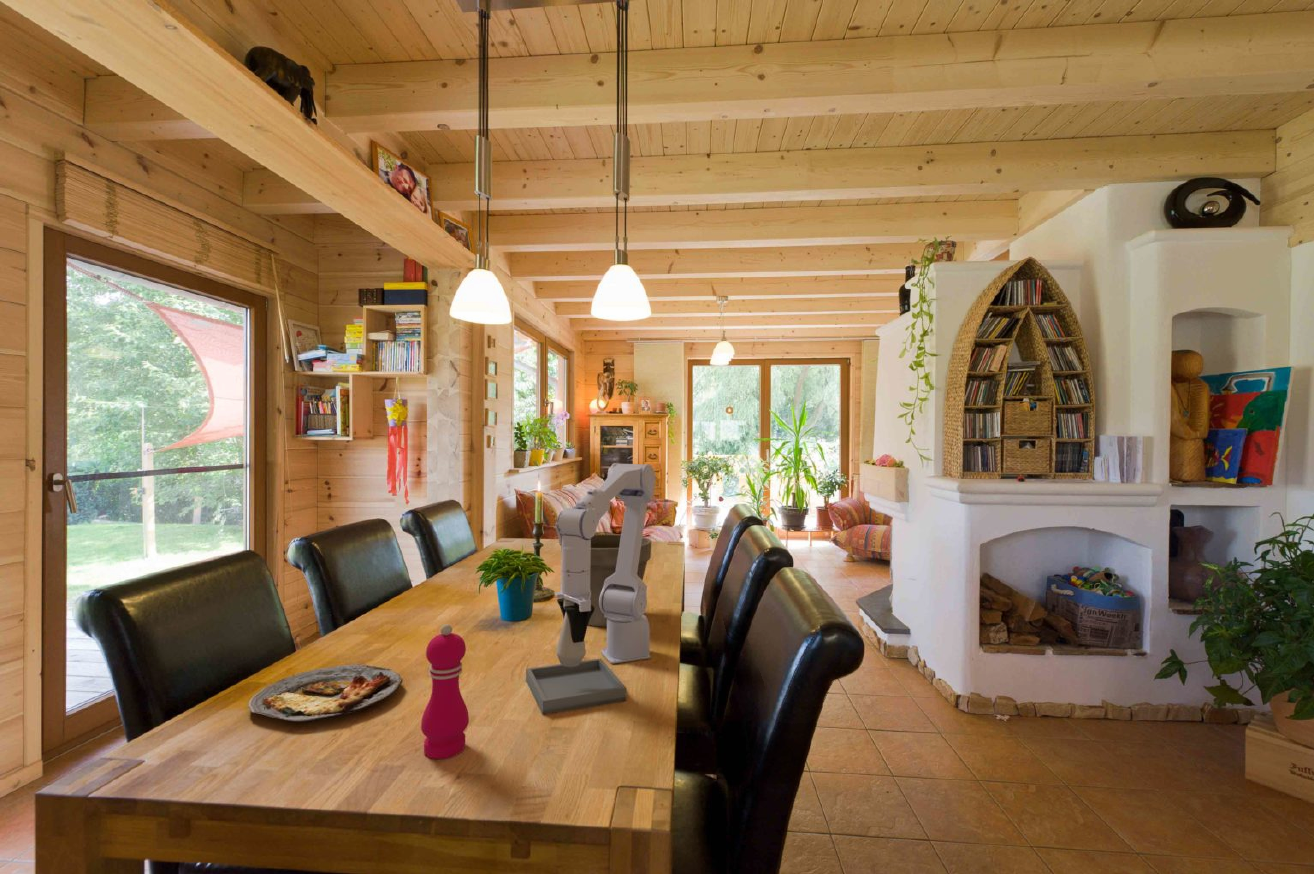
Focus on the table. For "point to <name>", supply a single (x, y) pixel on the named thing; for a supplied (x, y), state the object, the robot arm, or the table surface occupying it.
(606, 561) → the plant pot
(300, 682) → the food plate
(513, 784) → the table surface
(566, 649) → the salt shaker
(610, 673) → the tray
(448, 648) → the pepper mill
